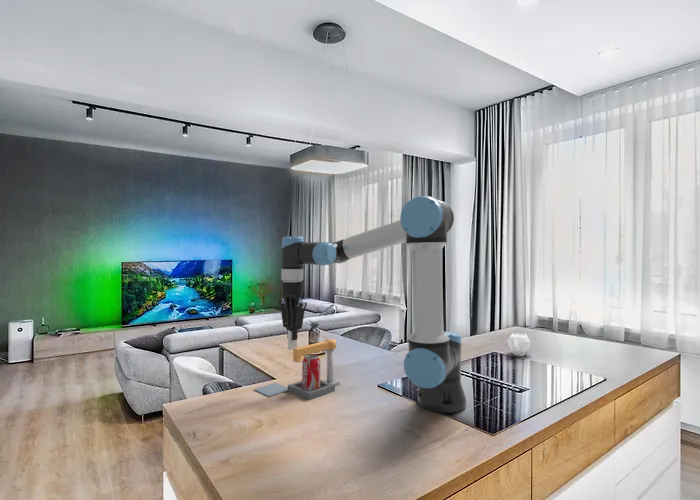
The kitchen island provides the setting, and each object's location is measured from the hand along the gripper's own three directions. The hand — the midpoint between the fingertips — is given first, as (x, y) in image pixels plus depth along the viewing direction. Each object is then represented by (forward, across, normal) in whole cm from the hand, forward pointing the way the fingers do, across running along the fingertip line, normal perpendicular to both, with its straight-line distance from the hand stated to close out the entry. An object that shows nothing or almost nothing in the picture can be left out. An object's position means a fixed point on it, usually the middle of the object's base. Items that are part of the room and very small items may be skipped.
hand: (292, 348), depth 142 cm
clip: (+3, -6, -6) cm, 9 cm away
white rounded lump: (+15, -38, -102) cm, 110 cm away
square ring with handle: (+14, -6, -7) cm, 17 cm away
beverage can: (+15, -6, -4) cm, 16 cm away
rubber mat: (+14, +4, +5) cm, 16 cm away
